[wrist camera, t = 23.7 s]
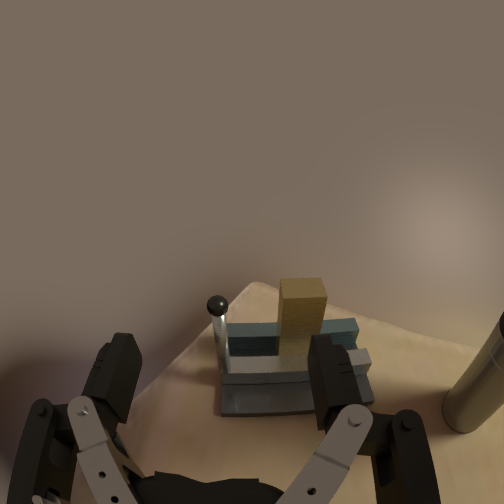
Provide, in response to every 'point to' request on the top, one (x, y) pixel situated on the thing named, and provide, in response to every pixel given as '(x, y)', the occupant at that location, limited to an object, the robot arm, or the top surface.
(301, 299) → the block
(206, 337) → the top surface
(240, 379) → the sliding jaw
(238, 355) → the vise
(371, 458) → the robot arm
